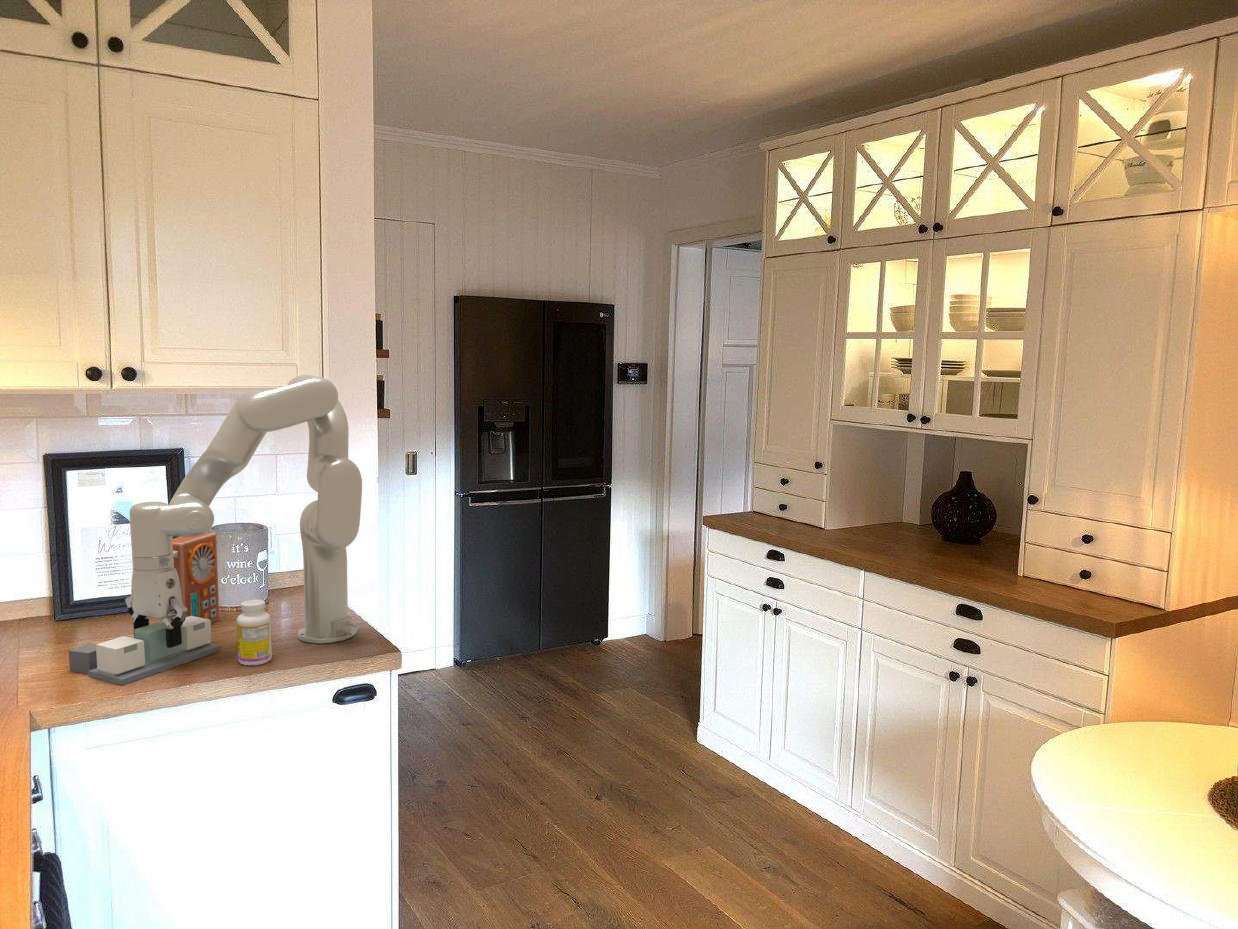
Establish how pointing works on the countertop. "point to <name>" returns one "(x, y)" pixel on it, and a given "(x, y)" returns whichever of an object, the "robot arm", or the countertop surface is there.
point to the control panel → (198, 575)
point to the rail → (153, 660)
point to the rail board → (155, 666)
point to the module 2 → (154, 641)
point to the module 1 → (83, 658)
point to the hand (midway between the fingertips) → (158, 642)
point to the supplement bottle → (254, 633)
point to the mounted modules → (131, 651)
